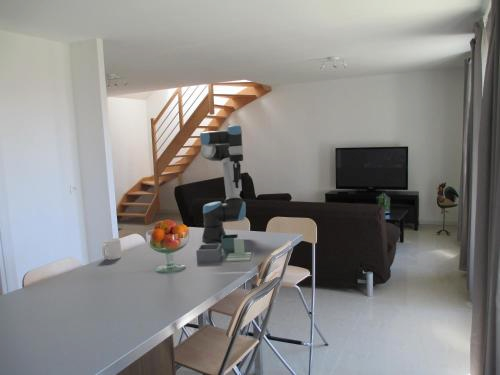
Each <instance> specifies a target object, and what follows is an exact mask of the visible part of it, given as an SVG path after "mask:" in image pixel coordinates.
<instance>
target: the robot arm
mask: <svg viewBox="0 0 500 375" xmlns="http://www.w3.org/2000/svg"><path fill="white" fill-rule="evenodd" d="M199 136H200V140H199V141H200V145H201V147H200V154H201V156H202V157H203V158H204V159H206V160H207V161H211V162H219V164H220V165H221V166H222V170H223V181H224V182H223V183H224V189H225V197H226V198H225V200H224V201H223V203H222V201H213V202H209V203H206V204H205V203H204V205H203V207H202V214H203V233H202V235H201V236H202V237H201V238H202V239H201V241H202V242H204V243H219V242H222V240H221V238H222V235H227V234H226V231H225V228H224V225H223V224H224V223H233V222H241V221H245V218H246V211H247V210H246V209H247V208H246V207H247V206H246V205H247V204H246V202H245V201H243V198H242V197H241V195H240V194H241V192H242V190H243V188H242V180H243V177H242V173H241V163H240V162H243V161H244V154H243V153H244V148H243V131H242V127H241V125H229V126H227V130H215V131H214V130H212V131H209V130H208V131H202V132H200V134H199Z"/></svg>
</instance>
